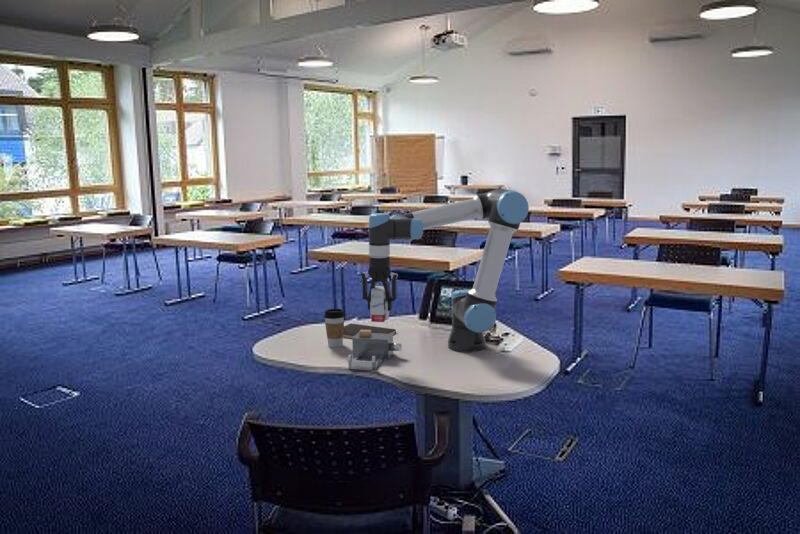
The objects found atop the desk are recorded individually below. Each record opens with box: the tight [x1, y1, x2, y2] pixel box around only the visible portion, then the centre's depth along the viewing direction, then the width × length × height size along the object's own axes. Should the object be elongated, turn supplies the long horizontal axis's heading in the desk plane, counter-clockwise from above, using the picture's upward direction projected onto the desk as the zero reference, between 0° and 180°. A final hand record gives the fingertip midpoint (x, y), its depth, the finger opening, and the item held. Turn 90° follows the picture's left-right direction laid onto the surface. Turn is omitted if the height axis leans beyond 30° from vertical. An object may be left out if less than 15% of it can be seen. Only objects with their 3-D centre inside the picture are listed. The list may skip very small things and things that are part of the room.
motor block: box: [351, 329, 403, 361], centre depth 257 cm, size 18×8×10 cm, turn 77°
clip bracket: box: [347, 354, 384, 371], centre depth 248 cm, size 10×12×5 cm
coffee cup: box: [323, 308, 345, 349], centre depth 272 cm, size 8×8×15 cm
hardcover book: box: [343, 323, 397, 339], centre depth 289 cm, size 16×23×2 cm
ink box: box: [370, 285, 387, 323], centre depth 245 cm, size 9×5×12 cm, turn 169°
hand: (379, 318), depth 246 cm, fingers closed on ink box, 5 cm apart
